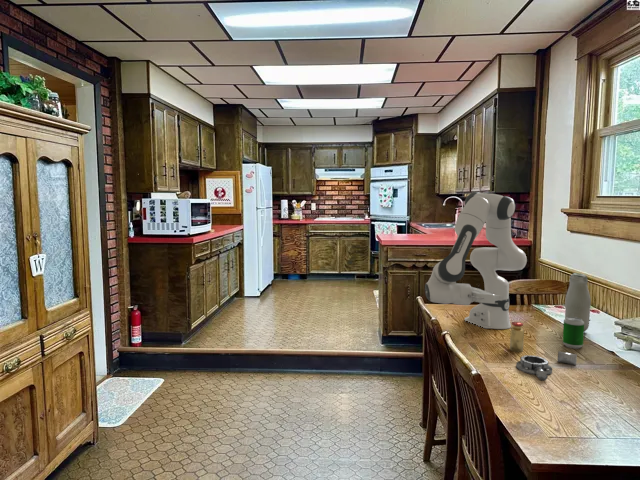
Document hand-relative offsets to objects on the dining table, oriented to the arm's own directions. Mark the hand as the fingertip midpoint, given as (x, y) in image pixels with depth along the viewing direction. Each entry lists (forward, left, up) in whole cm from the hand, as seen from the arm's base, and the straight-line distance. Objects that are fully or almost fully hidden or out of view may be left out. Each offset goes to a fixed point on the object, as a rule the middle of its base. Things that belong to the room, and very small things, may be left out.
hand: (498, 296), depth 178 cm
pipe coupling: (+24, +9, -23) cm, 35 cm away
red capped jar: (+5, +6, -23) cm, 24 cm away
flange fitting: (+22, -8, -23) cm, 33 cm away
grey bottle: (+7, +52, -23) cm, 58 cm away
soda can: (+16, +30, -23) cm, 41 cm away
